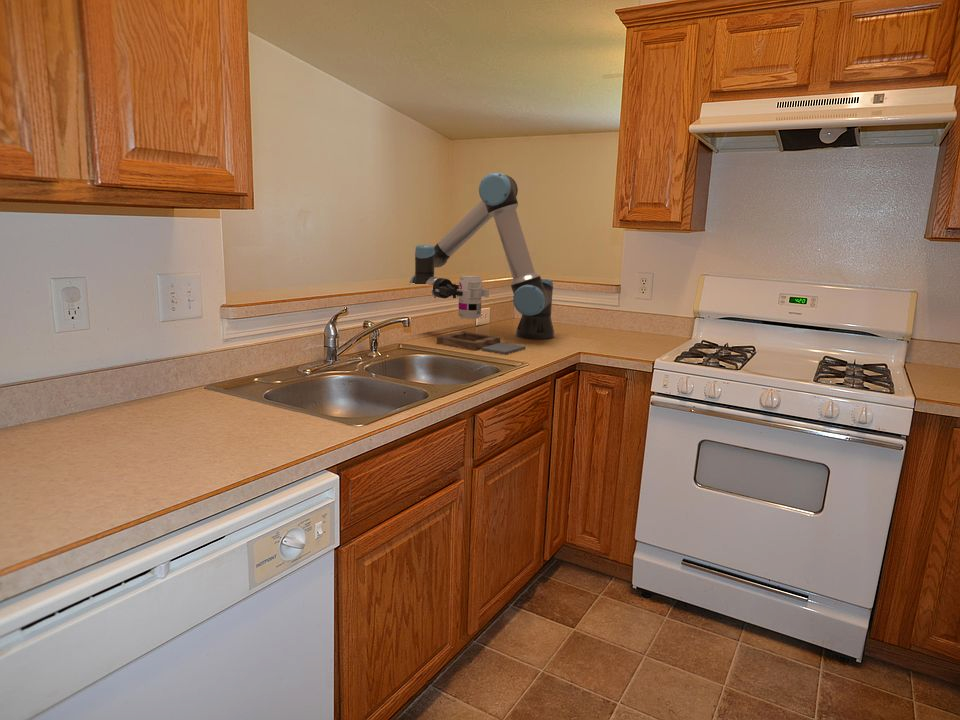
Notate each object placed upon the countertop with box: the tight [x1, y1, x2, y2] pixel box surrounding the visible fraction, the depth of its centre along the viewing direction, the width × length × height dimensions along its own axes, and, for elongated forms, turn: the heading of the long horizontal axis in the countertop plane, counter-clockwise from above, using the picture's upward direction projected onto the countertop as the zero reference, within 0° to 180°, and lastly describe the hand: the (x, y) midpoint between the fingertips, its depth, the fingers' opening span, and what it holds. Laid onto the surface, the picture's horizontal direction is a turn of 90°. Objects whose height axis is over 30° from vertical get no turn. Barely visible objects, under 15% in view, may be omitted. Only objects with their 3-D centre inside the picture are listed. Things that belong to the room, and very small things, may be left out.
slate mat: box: [480, 341, 526, 356], centre depth 225 cm, size 14×10×1 cm
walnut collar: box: [436, 330, 501, 351], centre depth 233 cm, size 17×17×2 cm
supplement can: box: [457, 274, 483, 320], centre depth 229 cm, size 8×8×15 cm
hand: (478, 294), depth 225 cm, fingers closed on supplement can, 8 cm apart
